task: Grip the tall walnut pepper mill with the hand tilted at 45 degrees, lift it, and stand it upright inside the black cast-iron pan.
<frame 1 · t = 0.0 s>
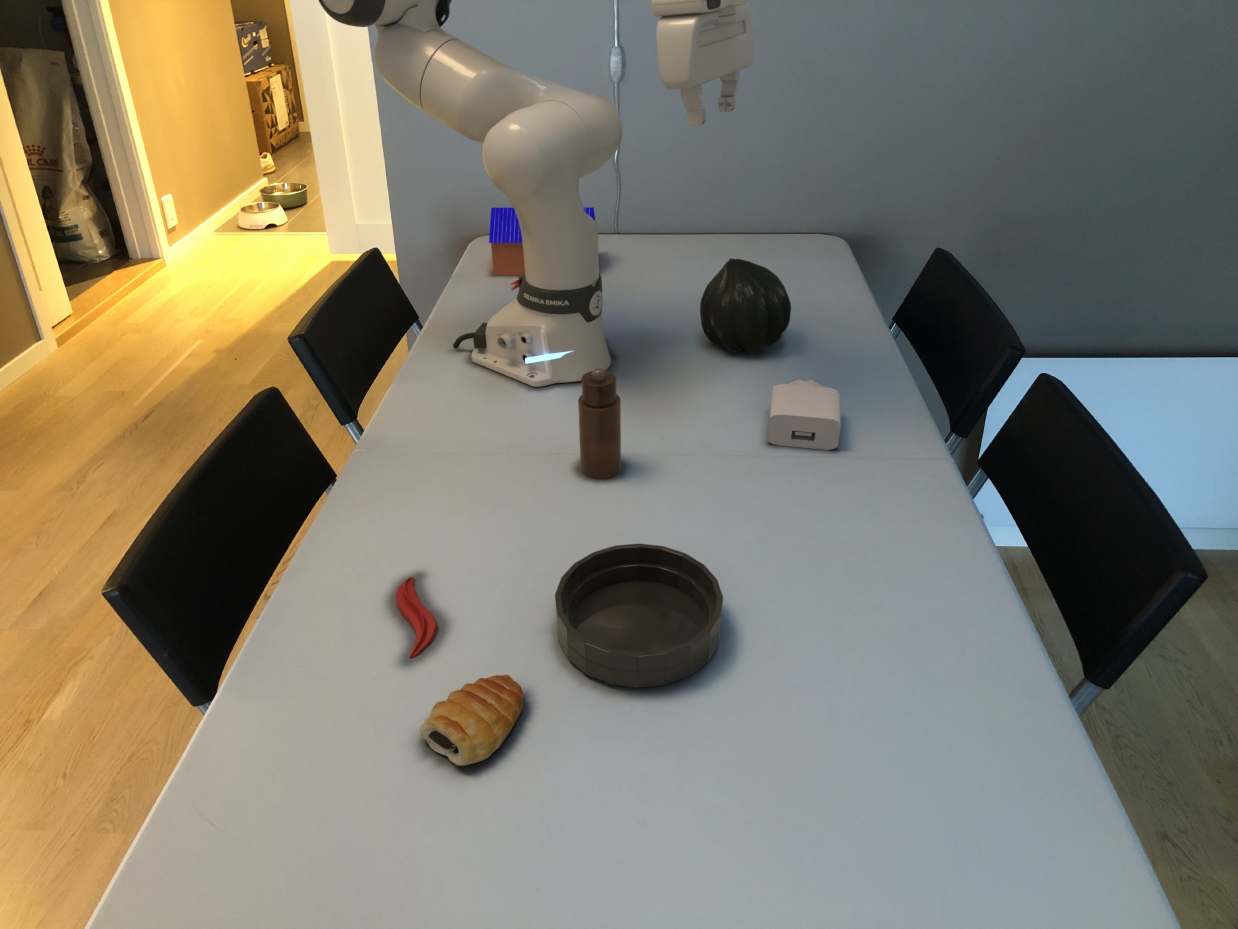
hand: (712, 117, 107), 39 cm above the table, tool pointing down, fingers open, 8 cm apart
charger: (802, 421, 122), on the table
pastry: (474, 731, 76), on the table
pepper mill: (600, 467, 112), on the table
cayenne pepper: (416, 617, 89), on the table
house: (545, 266, 175), on the table
pan: (638, 629, 87), on the table
squash: (742, 343, 143), on the table
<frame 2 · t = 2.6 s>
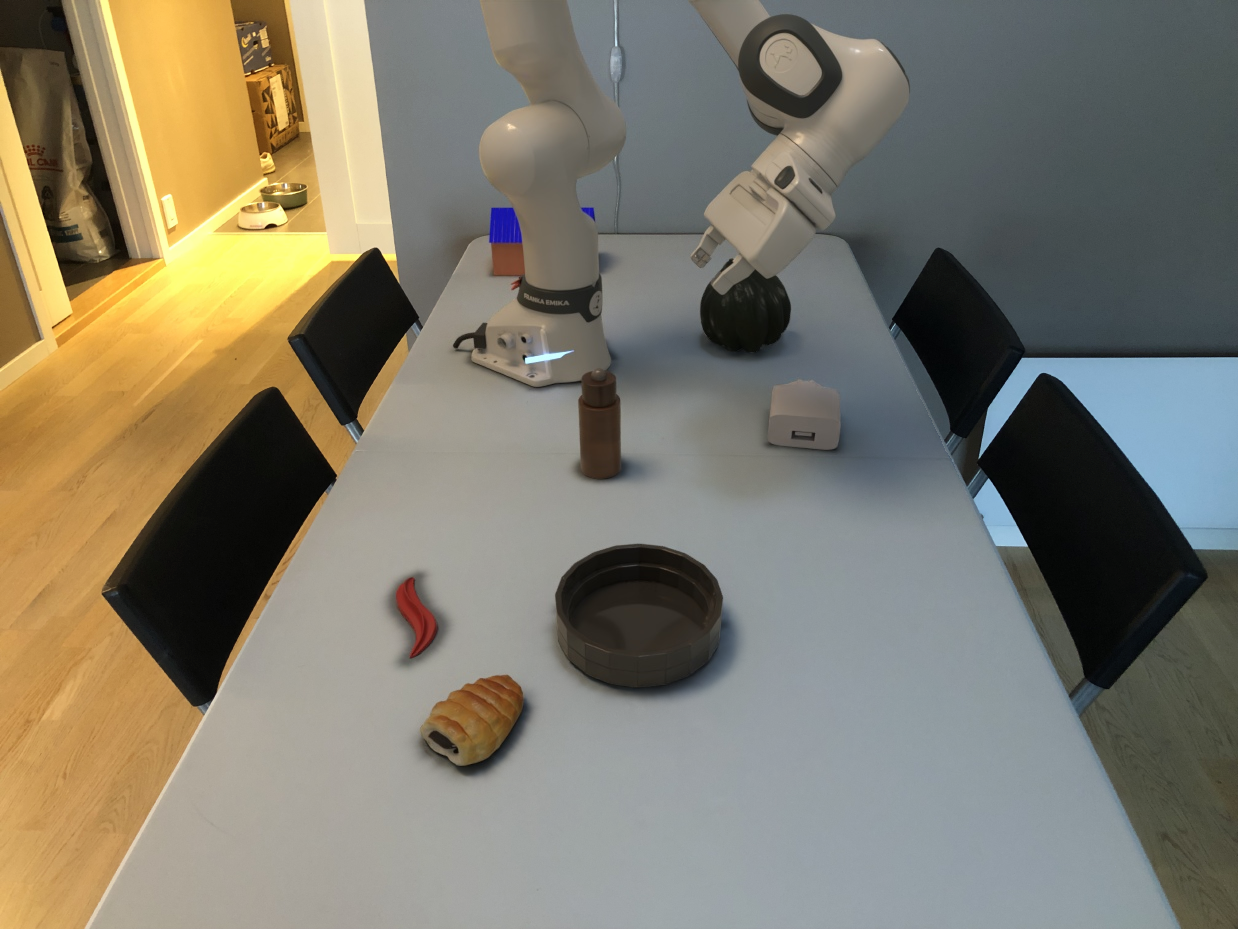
hand: (704, 275, 101), 25 cm above the table, tool tilted 45°, fingers open, 8 cm apart
nothing on the table moved.
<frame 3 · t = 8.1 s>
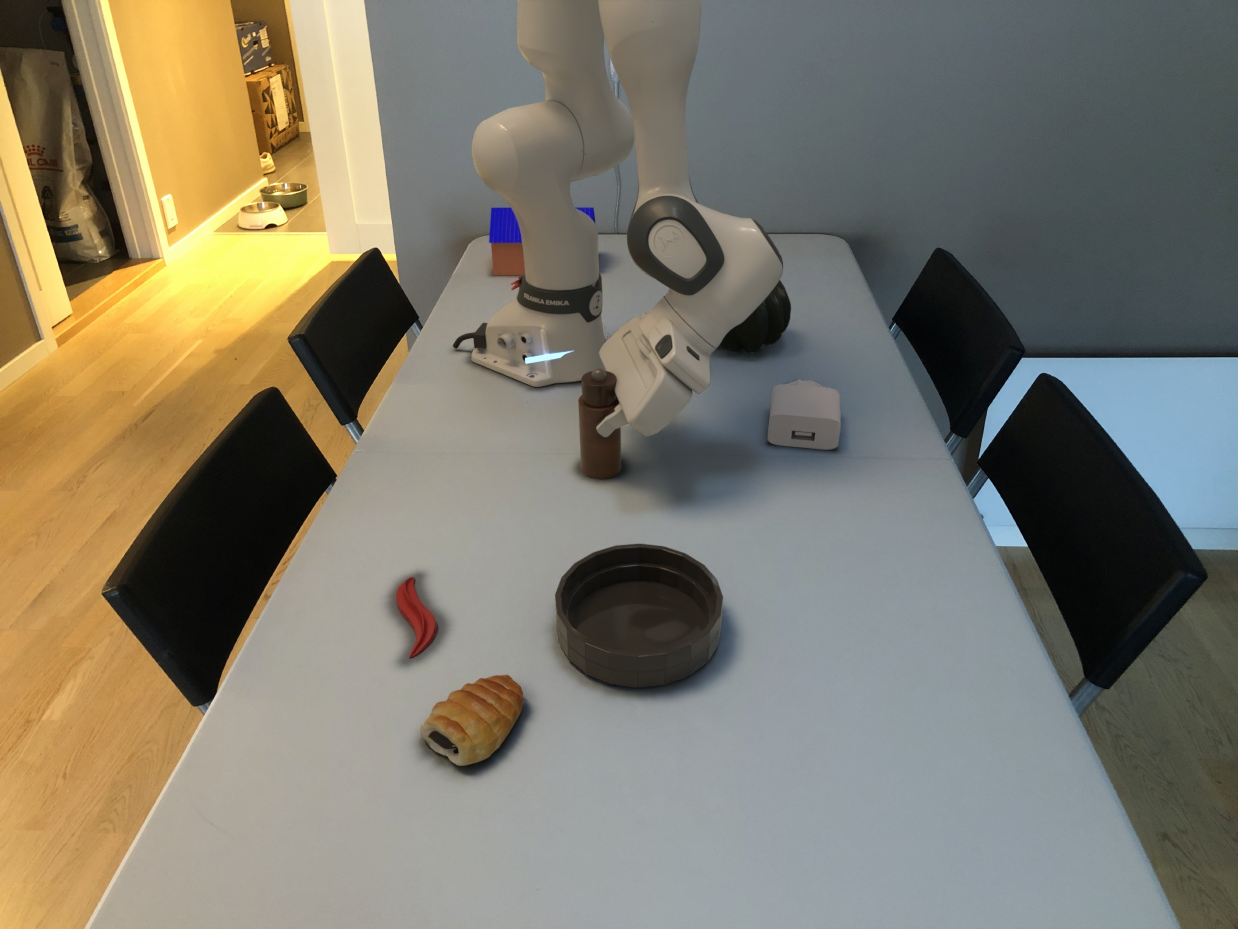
hand: (594, 418, 107), 7 cm above the table, tool tilted 45°, fingers closed on pepper mill, 5 cm apart
pepper mill: (601, 467, 112), on the table, touching gripper
everything else where it was.
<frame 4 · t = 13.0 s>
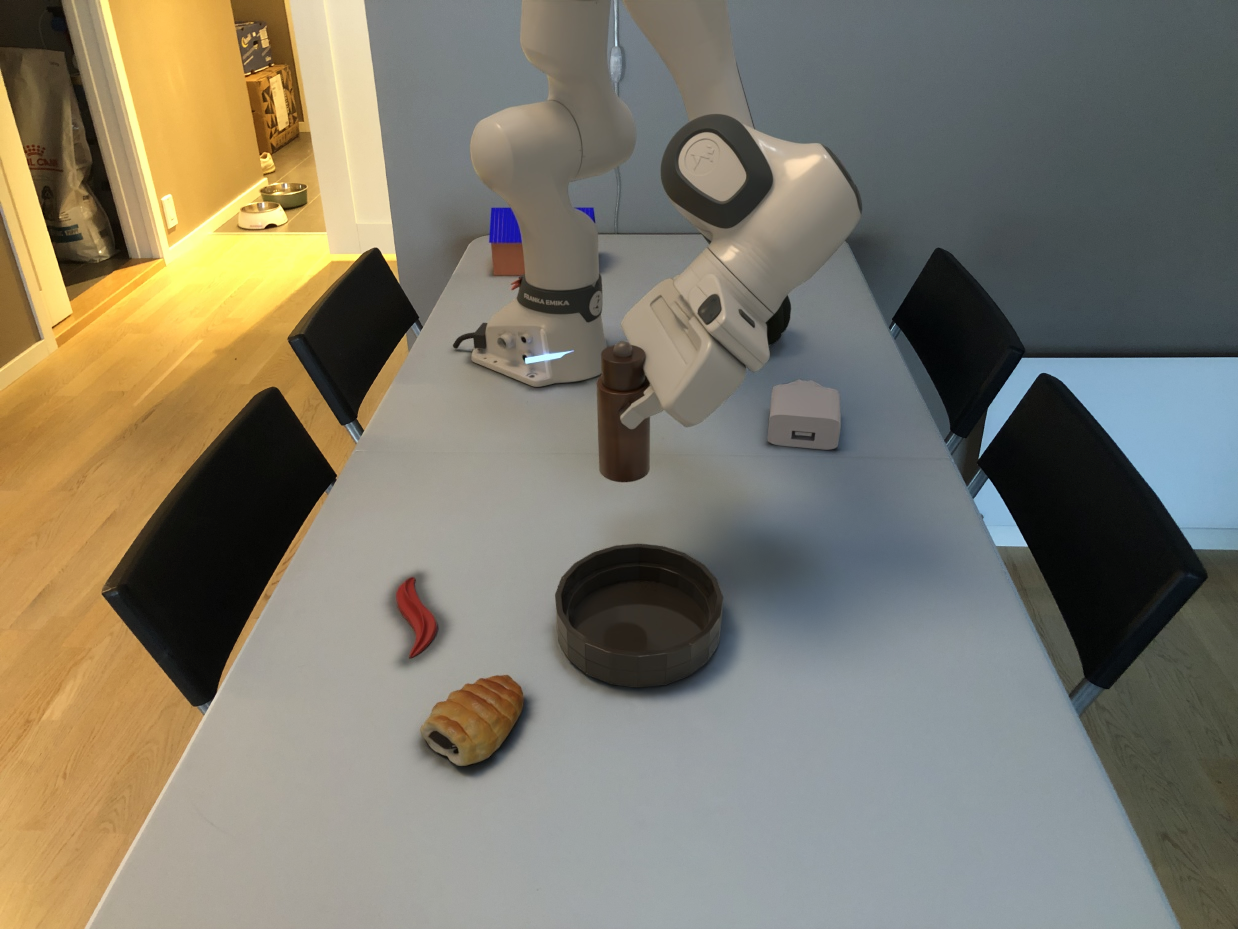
hand: (617, 406, 85), 20 cm above the table, tool tilted 45°, fingers closed on pepper mill, 5 cm apart
pepper mill: (624, 468, 89), point 12 cm above the table, touching gripper
everything else where it was.
when the fingers open (8 cm above the table, at t = 18.0 s): pepper mill stays where it is, resting on pan.
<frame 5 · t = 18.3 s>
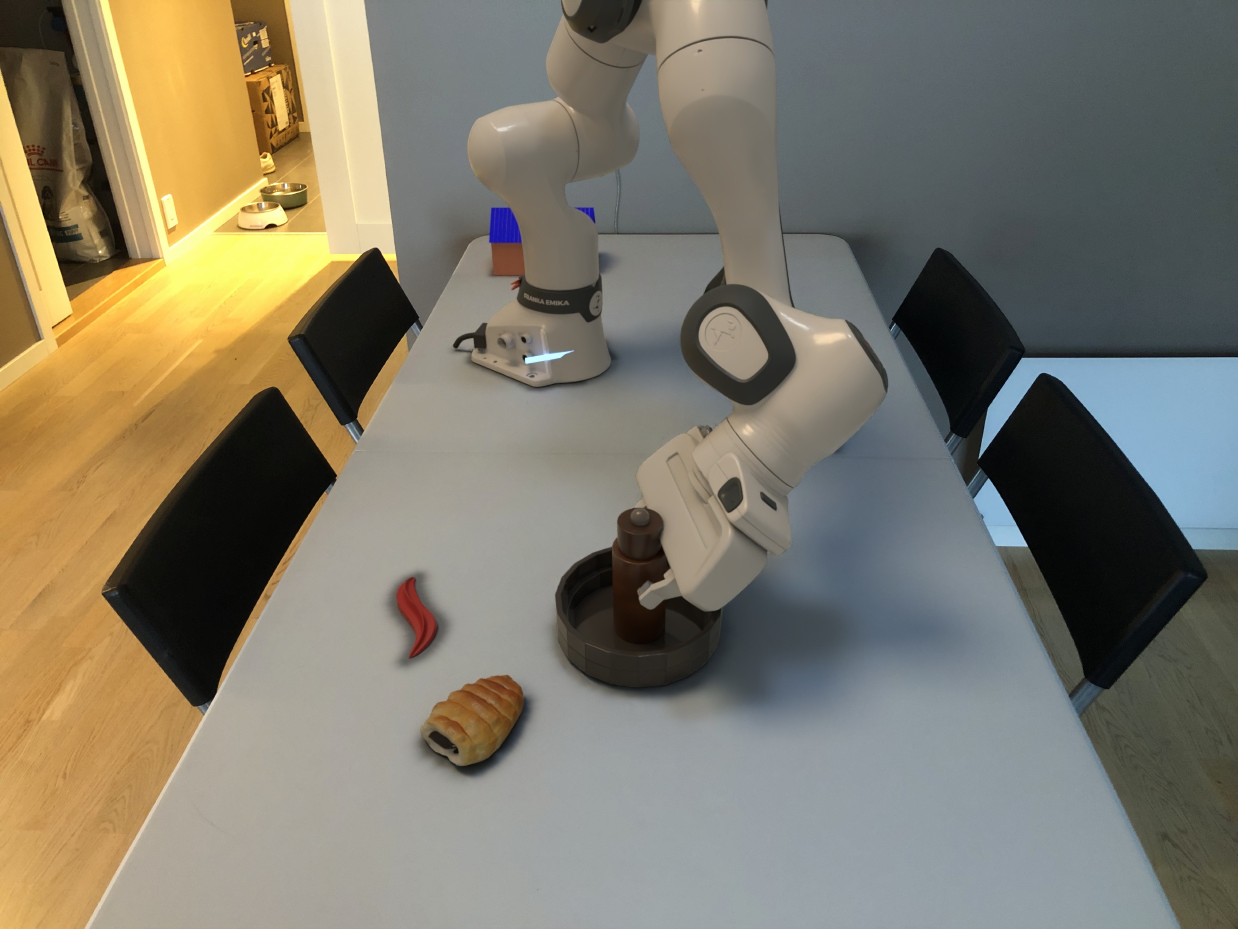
hand: (632, 570, 82), 8 cm above the table, tool tilted 45°, fingers open, 7 cm apart
pepper mill: (639, 625, 86), point 1 cm above the table, touching pan
everything else where it was.
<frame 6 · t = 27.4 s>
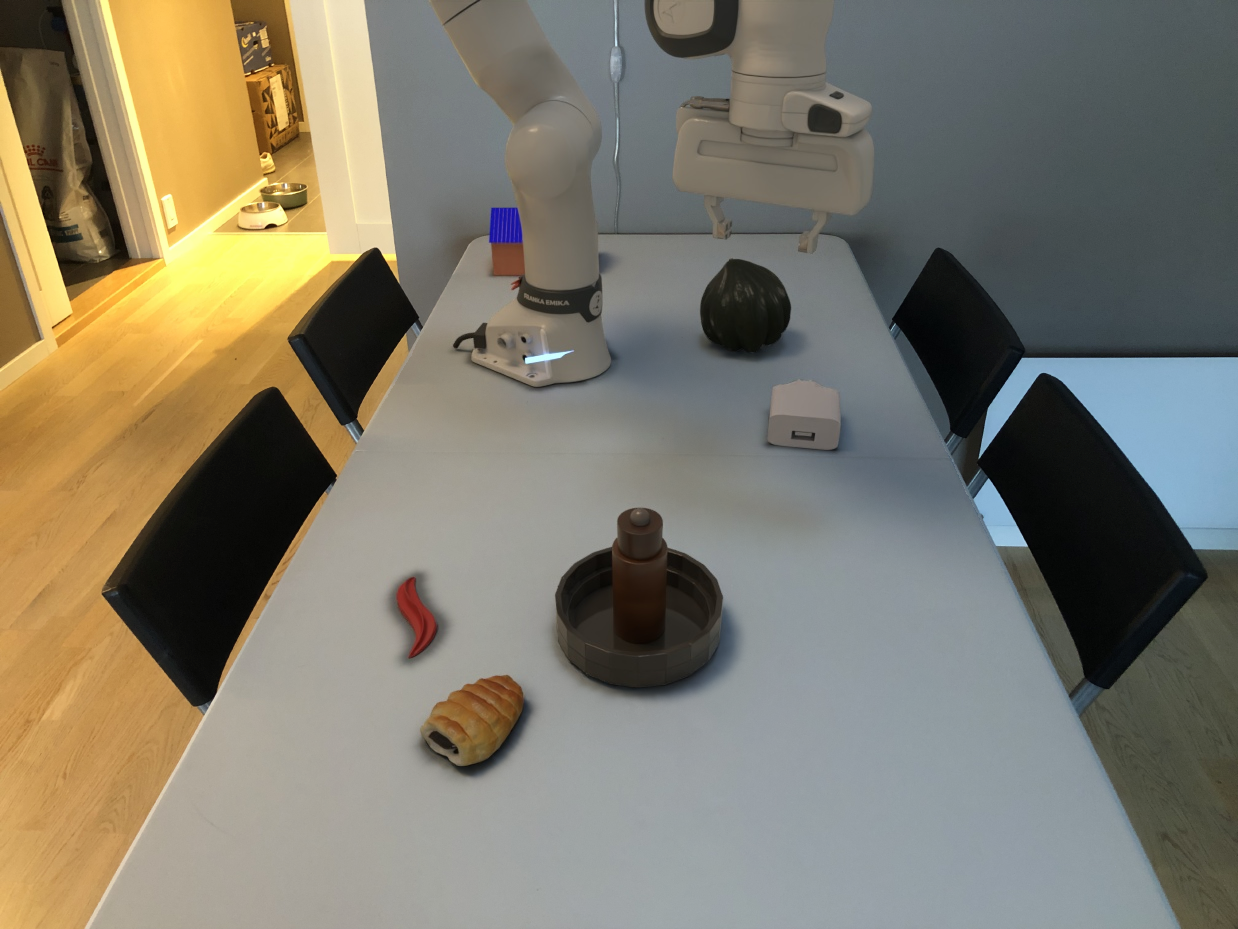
hand: (763, 244, 90), 31 cm above the table, tool pointing down, fingers open, 8 cm apart
nothing on the table moved.
at the end: pepper mill inside the target area in the pan (0.1 cm from its centre), point 0.5 cm above the pan's base; pepper mill tilted 0°; the gripper is holding nothing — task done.
